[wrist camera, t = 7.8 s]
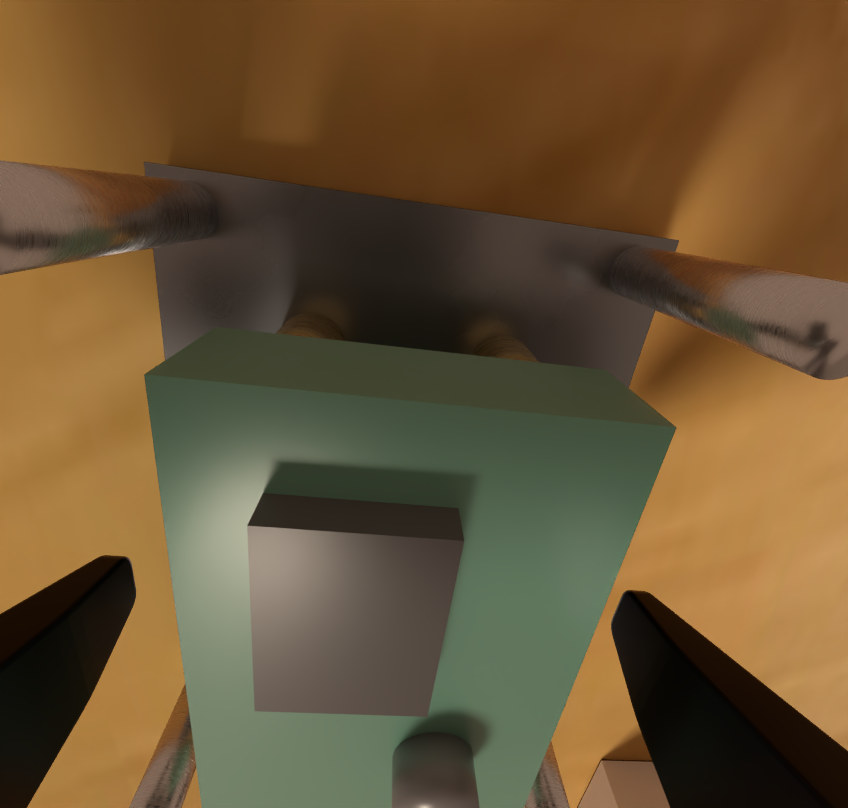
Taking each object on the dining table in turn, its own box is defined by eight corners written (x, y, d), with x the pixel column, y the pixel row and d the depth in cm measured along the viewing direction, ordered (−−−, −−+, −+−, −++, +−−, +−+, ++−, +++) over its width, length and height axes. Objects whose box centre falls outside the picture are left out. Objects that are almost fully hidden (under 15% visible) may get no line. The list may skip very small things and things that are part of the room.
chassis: (657, 237, 9) (946, 276, 4) (522, 653, 15) (585, 887, 10) (165, 165, 9) (-171, 112, 4) (208, 638, 14) (96, 888, 9)
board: (605, 369, 7) (719, 463, 5) (496, 721, 11) (526, 882, 8) (215, 326, 7) (97, 405, 4) (239, 712, 10) (185, 882, 8)
